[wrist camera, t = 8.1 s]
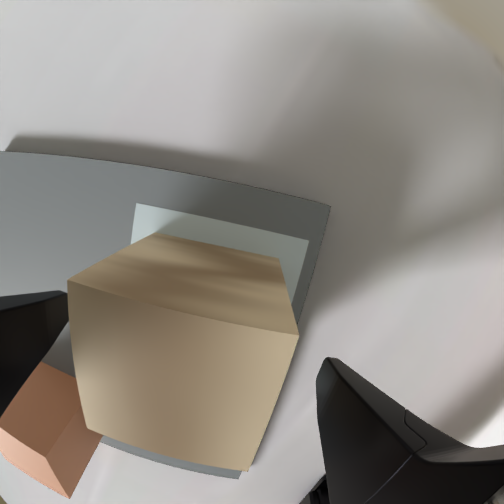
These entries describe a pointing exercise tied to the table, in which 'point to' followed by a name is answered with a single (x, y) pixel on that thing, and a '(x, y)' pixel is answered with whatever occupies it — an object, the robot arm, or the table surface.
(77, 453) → the terracotta block
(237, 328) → the maple block
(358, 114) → the table surface
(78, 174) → the board
